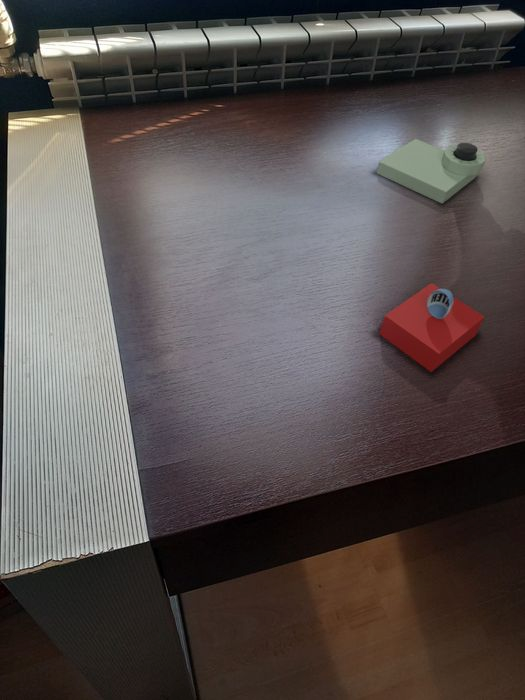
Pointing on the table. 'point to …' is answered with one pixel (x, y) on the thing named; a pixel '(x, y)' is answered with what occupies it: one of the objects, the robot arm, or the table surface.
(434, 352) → the low square red plinth
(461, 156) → the button
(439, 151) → the pale green flat block
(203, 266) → the table surface
